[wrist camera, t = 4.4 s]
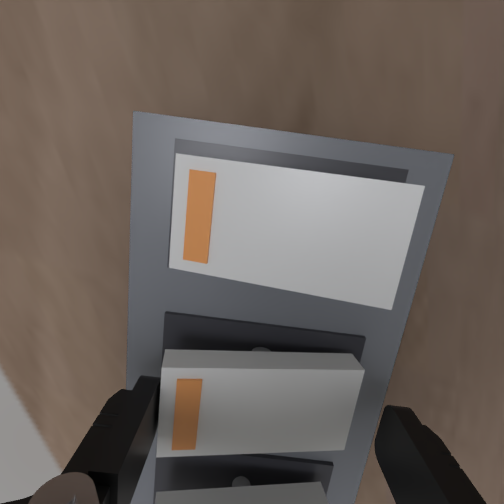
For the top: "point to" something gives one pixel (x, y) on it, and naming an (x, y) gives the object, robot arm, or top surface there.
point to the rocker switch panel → (262, 295)
